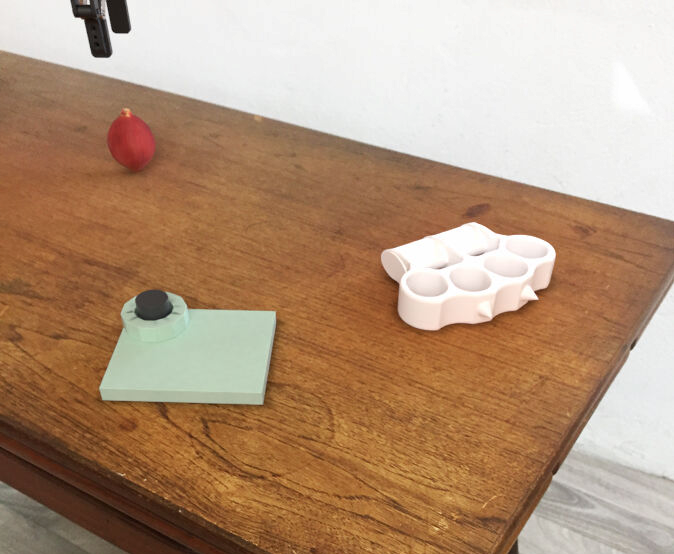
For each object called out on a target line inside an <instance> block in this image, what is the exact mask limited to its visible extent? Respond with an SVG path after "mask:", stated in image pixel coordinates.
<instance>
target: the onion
mask: <svg viewBox="0 0 674 554" xmlns="http://www.w3.org/2000/svg"><path fill="white" fill-rule="evenodd" d="M106 137H107V138H106V143H107V148H108V150H109V153H110V155H111V157H112V158H113V159H114V161H115V162H117V163H118V164H119V165H121V166H123V167H124V168H127V169H128V170H130V171H131V172H133V173H135V174H138V173H140V172H142V170H143V169H144V168H146V166H148V164H150V162H151V161H152V159H153V157H154V155H155V153H156V150H157V149H156V144H157V142H156V138H155V135H154V134H153V131H152V129H151V127H150V126H149V125H148V123H147V122H146V121H144V120H143V119H142V118H141V117H140V116H137V115H135V114H133V113H132V112H131V110H130V109H129V108H125V107H124V108H122V109H121V111H120V115H119V116H117V117H116V118H115V119H114V120H113V121H112V122H111V125H110V126H109V129H108V131H107V135H106Z"/></svg>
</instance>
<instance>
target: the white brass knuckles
mask: <svg viewBox="0 0 674 554" xmlns="http://www.w3.org/2000/svg"><path fill="white" fill-rule="evenodd" d="M556 256H557V254H556V251H555V249H554V247H553V246H552V245H551V244H550V243H549V242H547V241H545V240H543V239H541V238H538V237H536V236H532V235H526V234H513V235H503V234H499V233H496V232H494V231H492V230H491V229H489V228H488V227H486V226H484V225H483V224H479V223H477V222H474V221H473V222H468V223H464V224H461V226H458V227H455V228H452V229H449V230H446V231H443V232H440V233H436V234H433V235H427V236H424V237H423V238H421V239H418V240H415V241H412V242H409V243H406V244H403V245H399V246H396V247H393V248H388V249H384V250H383V251H382V252H381V255H380V263H381V265H382V266H383V269H384V270H385V272H386V273H387V274H388V276H389V277H390V278H391V279H392V280H394V281H396V282H397V283H398V284H399V285H398V298H397V313H398V316H399V317H400V319H401V320H402V321H403V322H404V323H406V324H407V325H409V326H411V327H412V328H415V329H417V330H423V331H440V330H441V328H442V329H443V328H445V327H446V326H450V325H453V324H454V325H455V324H468V325H475V324H481V323H487V322H491V321H492V320H493V318H495V317H496V316H498V315H500V314H503V313H506V312H517V311H518V310H519V309H521V308H522V307H523V306H525V305H526V304H528V302H529V301H539V300H540V299H539V298H538V296H537V294H536V293H535V292H537V291H540V290H544V289H547V288H548V286H549V285H550V282H551V278H552V274H553V271H554V265H555V262H556Z"/></svg>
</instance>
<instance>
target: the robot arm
mask: <svg viewBox="0 0 674 554" xmlns="http://www.w3.org/2000/svg"><path fill="white" fill-rule="evenodd" d="M69 1H70V7H71V11H72V12H71V13H72V16H73V17H74V18H75V19H81V20H83V23H84V27H85V31H86V32H85V33H86V36H87V41H88V46H89V51H90V54H91V56H92V57H93V58H95V59H110V58H111V56H112V55H113V53H114V52H113V45H112V41H111V36H110V31H109V26H108V21H107V18H106V16H107V14H108V19H109V24H110V29H111V32H112V33H113V34H117V35H118V34H119V35H121V34H122V35H128V34H129V33H130V32H131V31H132V24H131V18H130V13H129V7H128V2H127V0H69ZM88 1H89V4H88ZM106 9H107V12H106Z"/></svg>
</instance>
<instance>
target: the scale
mask: <svg viewBox="0 0 674 554" xmlns="http://www.w3.org/2000/svg"><path fill="white" fill-rule="evenodd" d="M164 292H165V293H167V295H168V298H169V304H170V309H171V312H170V314H169V315H168V316H167V317H166V318H163V319H159V320H156V321H145V320H142V319H141V318H140V317H139V316H138V312H137V307H136V303H135V299H136V297H137V295H135V296H134V297H132V298H131V299H130V300H128V301H126V302H125V303H124V304H123V307H122V309H121V312H120V317H121V322H122V326H123V328H122V330H121V333H120V335H119V337H118V340H117V343H116V344H115V348H114V351H113V352H112V355H111V357H110V360H109V363H108V365H107V368H106V370H105V372H104V375H103V378H102V379H101V382H100V385H99V387H98V389H99V393H100V396H101V400H102V401H112V402H114V401H115V402H147V403H149V402H150V403H151V402H153V403H155V402H156V403H184V404H185V403H186V404H187V403H189V404H222V405H223V404H224V405H225V404H227V405H257V406H258V405H259V406H260V405H261V406H263V405H264V400H265V394H266V389H267V383H268V376H269V370H270V365H271V359H272V358H271V357H272V352H273V346H274V339H275V333H276V327H277V314H276V310H249V309H247V310H246V309H245V310H243V309H242V310H241V309H209V308H208V309H207V308H206V309H205V308H204V309H203V308H188V305H187V303H186V302H185V300H184V299H183V297H182V296H180V295H177V294H175V293H172V292H169V291H164Z"/></svg>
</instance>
